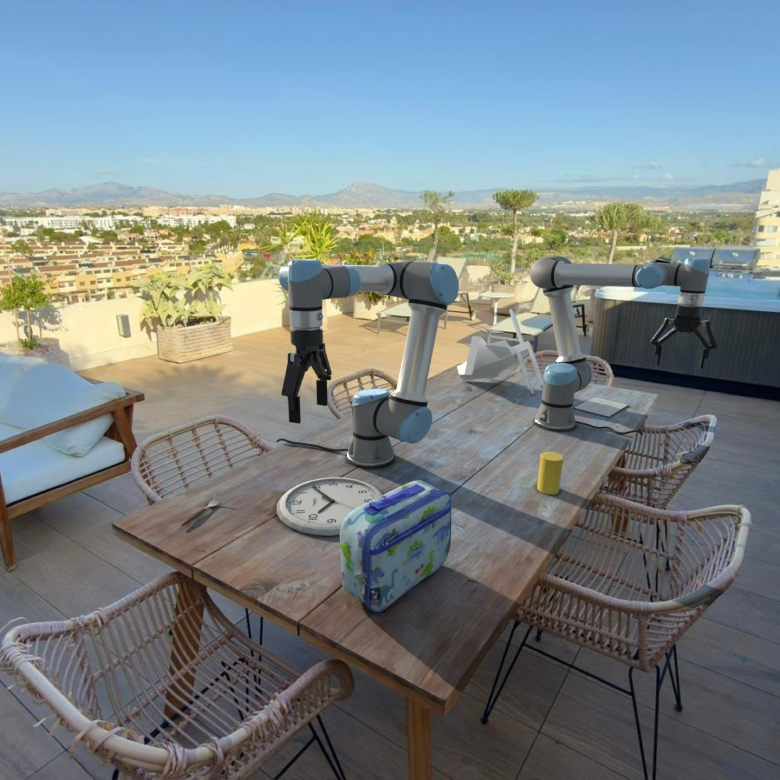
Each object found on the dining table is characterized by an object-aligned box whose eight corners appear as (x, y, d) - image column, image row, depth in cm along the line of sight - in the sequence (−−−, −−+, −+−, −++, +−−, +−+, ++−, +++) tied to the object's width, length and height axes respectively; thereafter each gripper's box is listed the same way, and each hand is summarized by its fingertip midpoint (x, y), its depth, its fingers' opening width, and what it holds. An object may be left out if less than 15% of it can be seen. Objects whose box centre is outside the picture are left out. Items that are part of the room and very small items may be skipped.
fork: (176, 526, 131) (176, 519, 130) (217, 497, 145) (217, 491, 145) (185, 528, 130) (184, 521, 130) (225, 499, 145) (224, 492, 144)
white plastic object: (478, 423, 260) (457, 400, 235) (460, 349, 282) (438, 321, 257) (551, 399, 247) (536, 372, 223) (525, 323, 270) (510, 291, 245)
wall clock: (392, 527, 129) (268, 531, 127) (391, 533, 130) (269, 537, 127) (383, 473, 158) (282, 475, 155) (383, 478, 158) (282, 480, 156)
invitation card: (608, 416, 214) (573, 407, 224) (608, 416, 214) (573, 408, 224) (628, 404, 229) (594, 396, 238) (628, 405, 229) (594, 397, 238)
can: (533, 490, 153) (537, 456, 150) (541, 482, 158) (545, 449, 155) (554, 496, 149) (559, 462, 146) (562, 488, 154) (566, 455, 151)
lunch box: (369, 626, 100) (370, 530, 93) (334, 598, 107) (332, 507, 101) (455, 567, 117) (460, 483, 111) (419, 547, 124) (423, 467, 118)
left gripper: (292, 338, 109) (296, 433, 116) (344, 320, 132) (345, 400, 138) (262, 335, 112) (267, 428, 118) (317, 318, 134) (319, 396, 140)
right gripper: (650, 304, 178) (641, 364, 184) (735, 308, 170) (721, 371, 176) (648, 301, 185) (639, 360, 191) (729, 305, 177) (716, 366, 183)
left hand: (309, 413), depth 128 cm, fingers open, 13 cm apart
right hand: (678, 365), depth 184 cm, fingers open, 13 cm apart
